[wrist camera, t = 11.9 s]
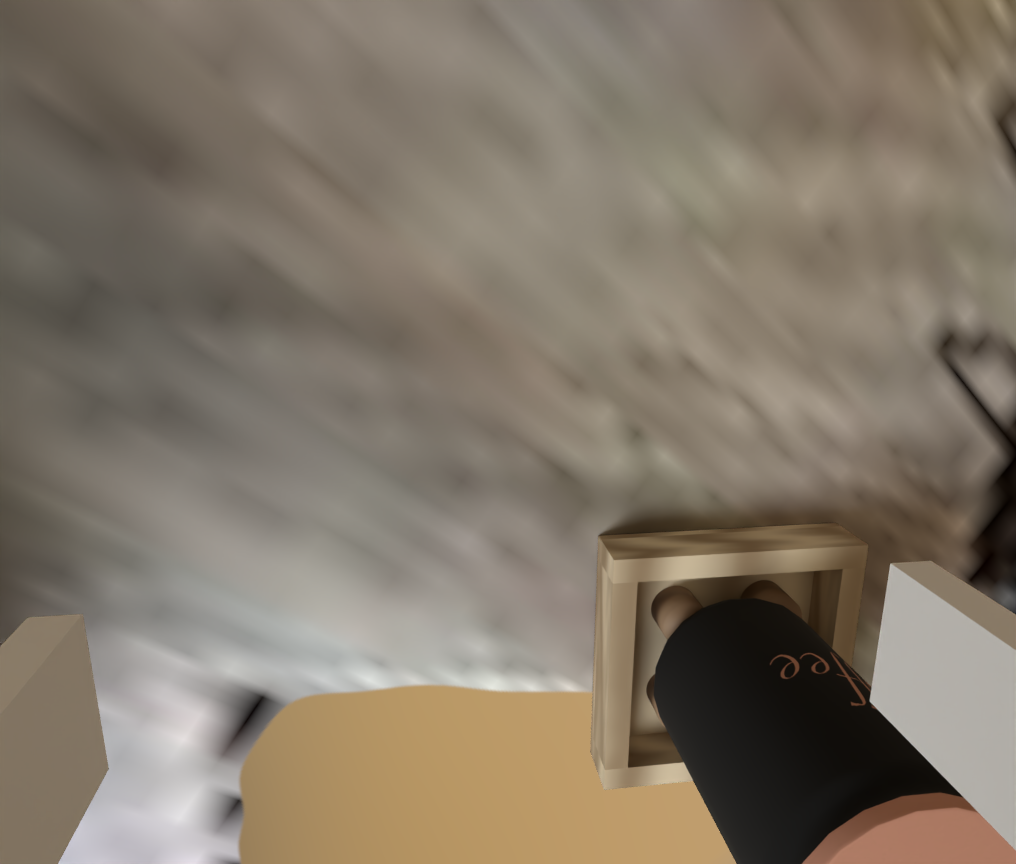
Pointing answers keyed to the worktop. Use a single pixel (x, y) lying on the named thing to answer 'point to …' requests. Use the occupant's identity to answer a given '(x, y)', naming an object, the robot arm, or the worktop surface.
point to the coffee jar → (803, 750)
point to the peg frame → (682, 592)
